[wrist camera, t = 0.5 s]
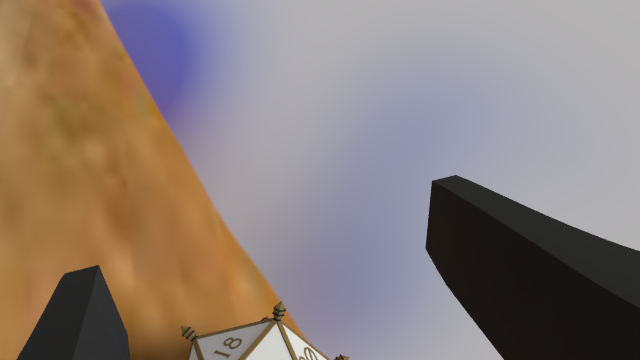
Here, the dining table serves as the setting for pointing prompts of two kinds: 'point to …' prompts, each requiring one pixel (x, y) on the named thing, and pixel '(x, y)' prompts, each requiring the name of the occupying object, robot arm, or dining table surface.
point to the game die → (254, 342)
